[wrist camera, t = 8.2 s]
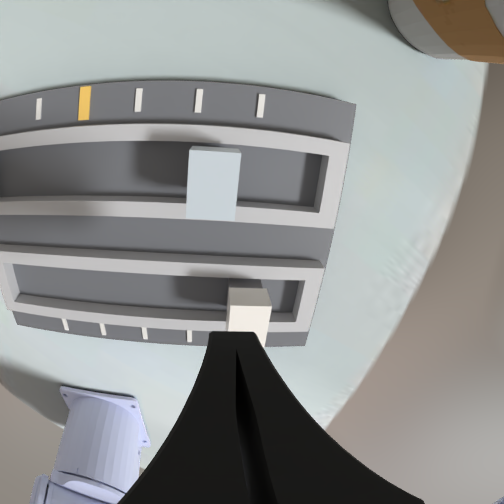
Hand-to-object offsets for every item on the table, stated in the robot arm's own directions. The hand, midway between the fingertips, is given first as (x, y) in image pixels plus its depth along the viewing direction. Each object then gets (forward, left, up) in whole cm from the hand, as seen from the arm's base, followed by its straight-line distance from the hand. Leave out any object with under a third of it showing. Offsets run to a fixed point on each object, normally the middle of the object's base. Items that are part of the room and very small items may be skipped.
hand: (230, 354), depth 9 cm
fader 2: (-3, -1, -8) cm, 9 cm away
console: (0, +5, -10) cm, 11 cm away
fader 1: (+4, +1, -8) cm, 9 cm away
